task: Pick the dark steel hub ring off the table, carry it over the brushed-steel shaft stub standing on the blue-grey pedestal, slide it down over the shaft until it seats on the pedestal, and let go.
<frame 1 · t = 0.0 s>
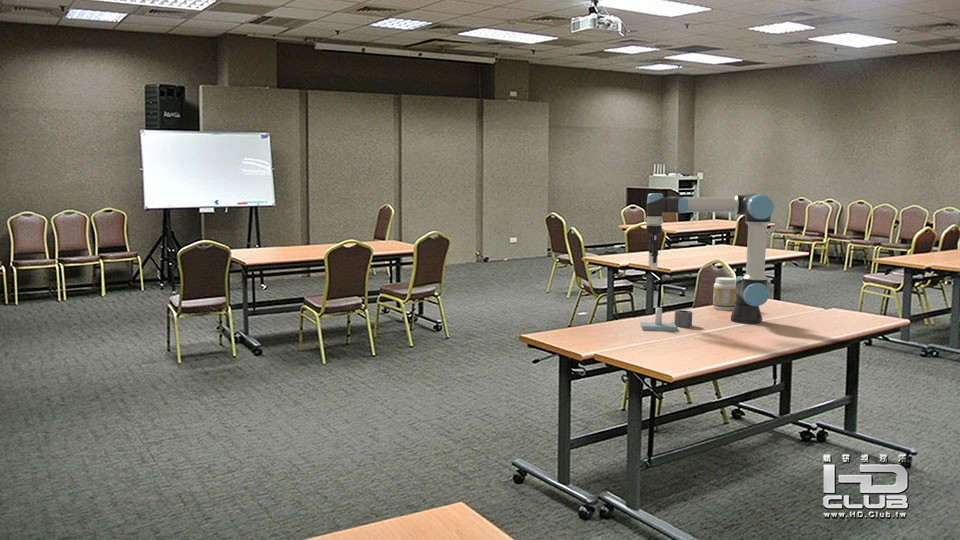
hand: (652, 267, 393), 28 cm above the table, fingers open, 13 cm apart
hub: (683, 325, 392), on the table
shaft block: (658, 328, 384), on the table
supplement tub: (724, 309, 441), on the table
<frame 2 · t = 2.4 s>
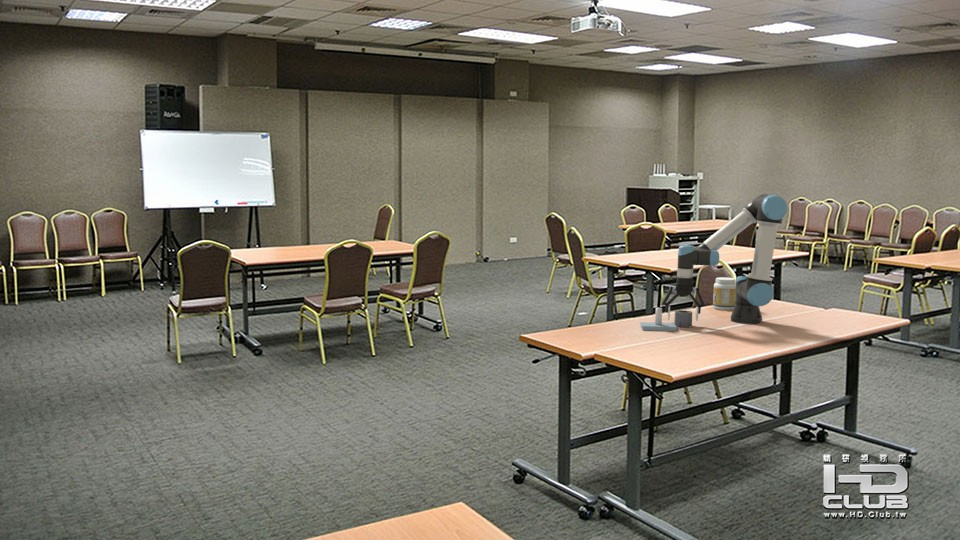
hand: (682, 319, 391), 3 cm above the table, fingers open, 13 cm apart
nothing on the table moved.
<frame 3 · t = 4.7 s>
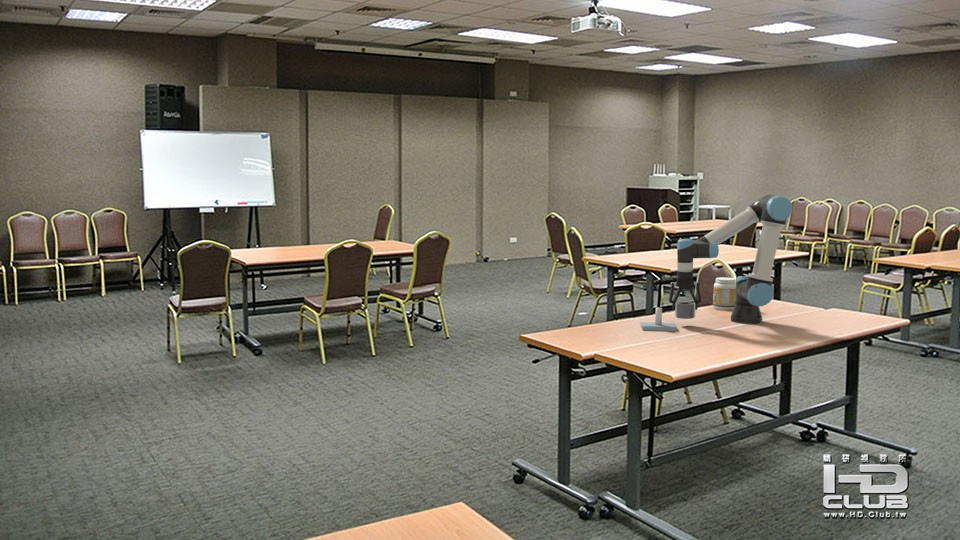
hand: (684, 316, 391), 5 cm above the table, fingers closed on hub, 8 cm apart
hub: (684, 317, 391), point 4 cm above the table, touching gripper
everything else where it was.
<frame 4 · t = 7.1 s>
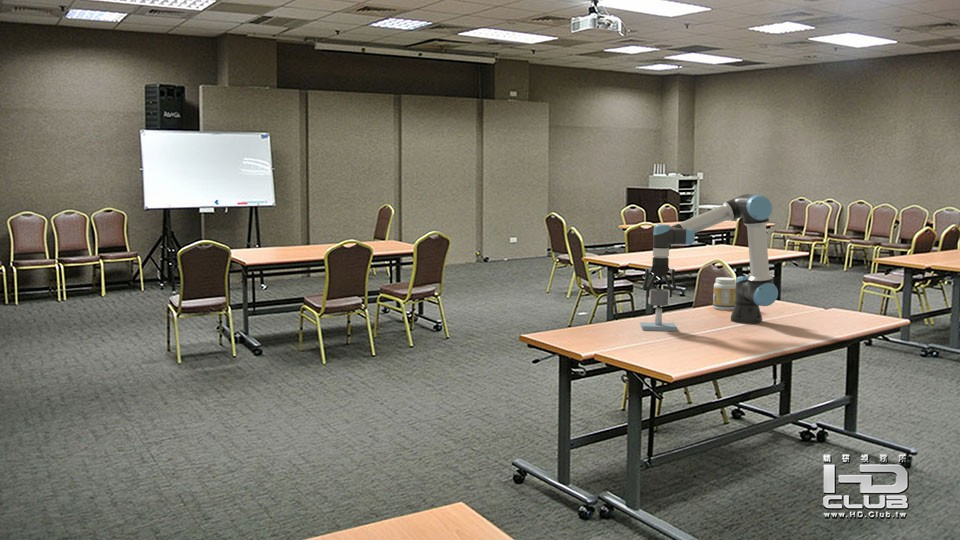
hand: (658, 303, 383), 12 cm above the table, fingers closed on hub, 8 cm apart
hub: (658, 304, 383), point 12 cm above the table, touching gripper
everything else where it was.
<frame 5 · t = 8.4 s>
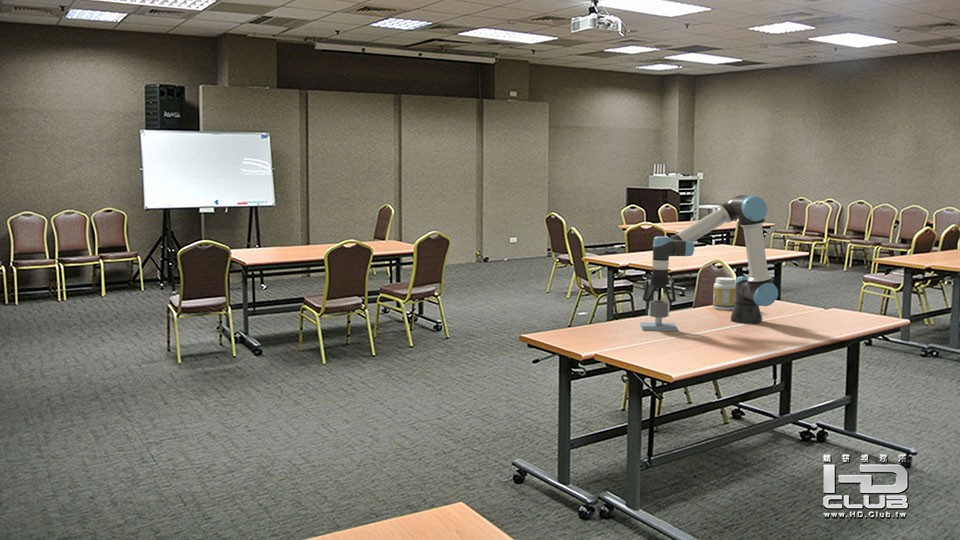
hand: (658, 315, 383), 6 cm above the table, fingers closed on hub, 8 cm apart
hub: (658, 316, 383), point 6 cm above the table, touching gripper
everything else where it was.
when the fingers open (3 cm above the table, at t = 9.6 s): hub stays where it is, resting on shaft block.
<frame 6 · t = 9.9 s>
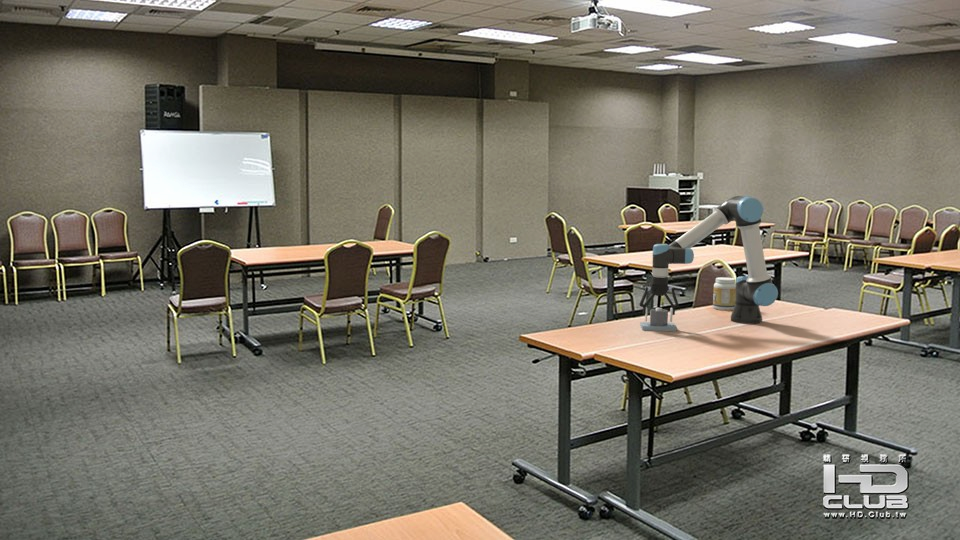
hand: (658, 321, 384), 4 cm above the table, fingers open, 11 cm apart
hub: (658, 324, 384), point 2 cm above the table, touching shaft block
everything else where it was.
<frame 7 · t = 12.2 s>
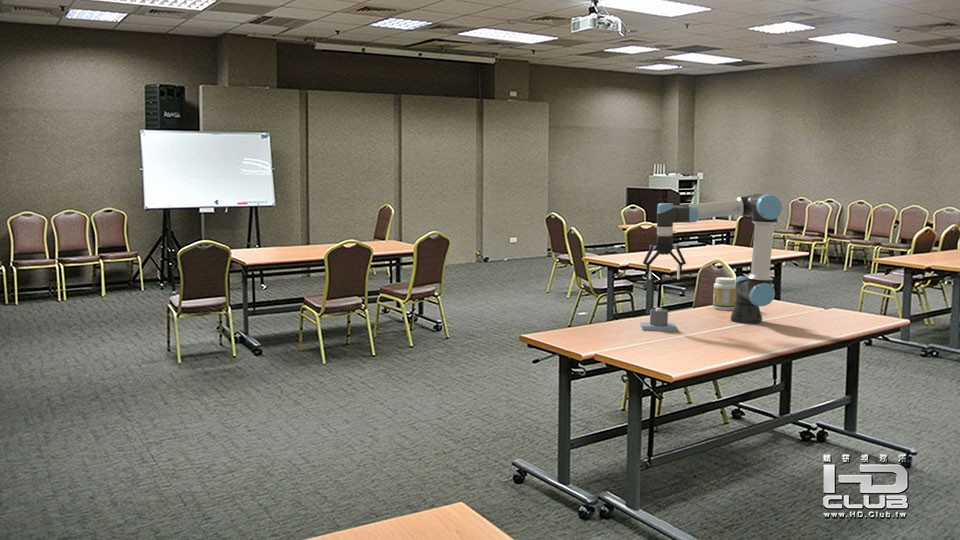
hand: (664, 278, 386), 24 cm above the table, fingers open, 13 cm apart
nothing on the table moved.
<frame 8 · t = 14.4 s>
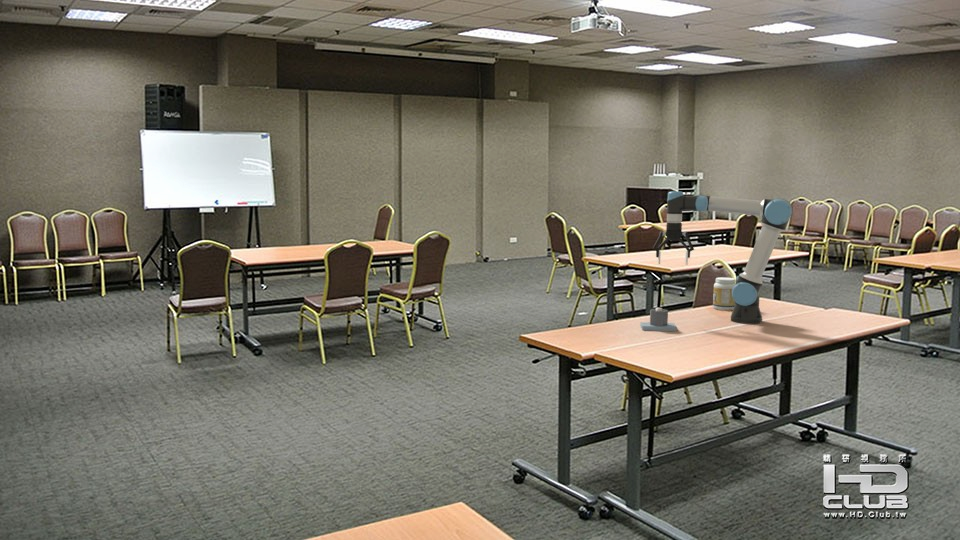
hand: (672, 264, 403), 29 cm above the table, fingers open, 13 cm apart
nothing on the table moved.
at the end: hub 0.1 cm off-centre on the shaft block, point 2.0 cm above the shaft block's base; hub tilted 0°; the gripper is holding nothing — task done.
